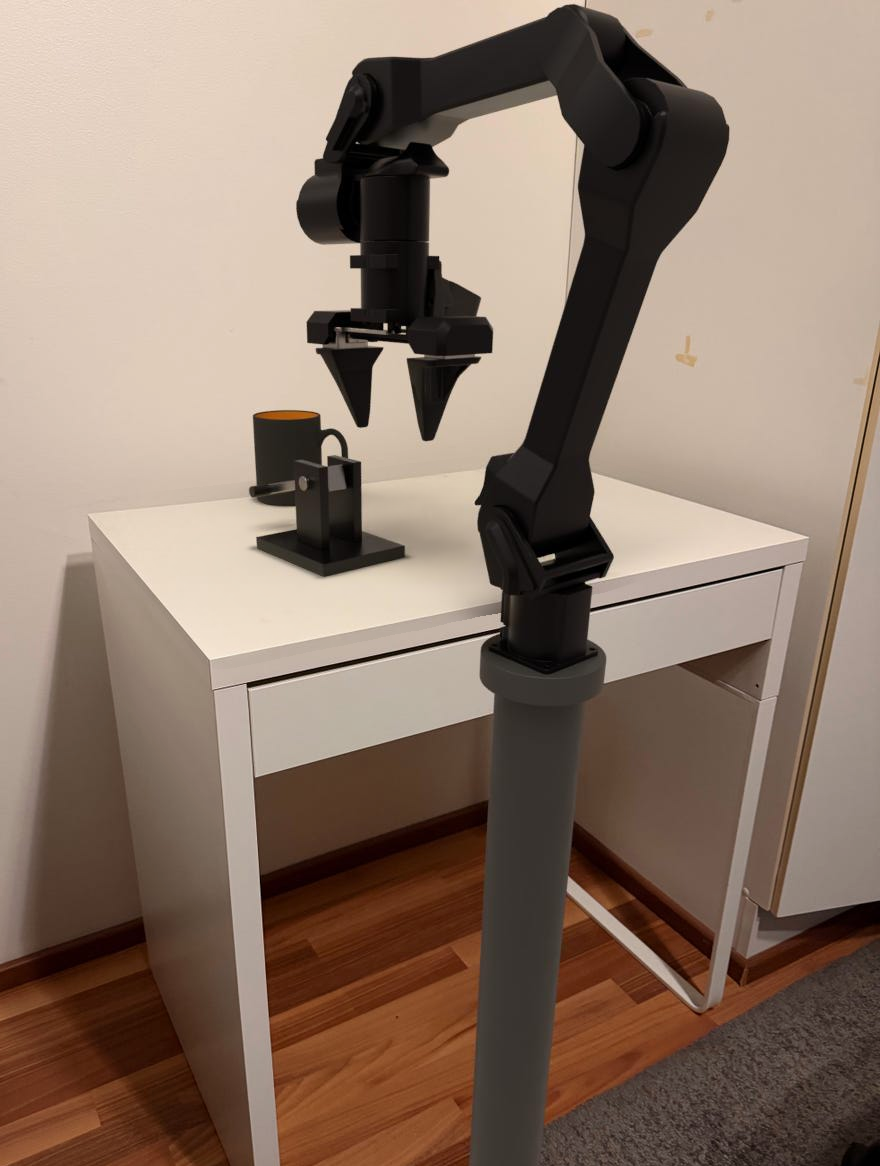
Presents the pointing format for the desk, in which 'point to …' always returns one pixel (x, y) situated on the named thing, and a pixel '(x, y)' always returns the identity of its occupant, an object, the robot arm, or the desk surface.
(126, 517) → the desk surface
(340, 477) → the tap lever
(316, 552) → the black stand
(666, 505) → the desk surface
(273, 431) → the mug
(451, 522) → the desk surface
